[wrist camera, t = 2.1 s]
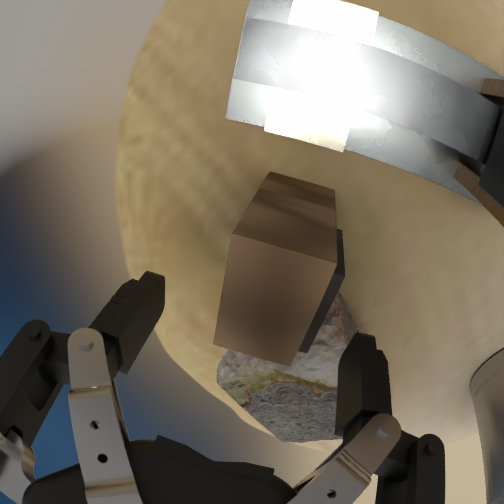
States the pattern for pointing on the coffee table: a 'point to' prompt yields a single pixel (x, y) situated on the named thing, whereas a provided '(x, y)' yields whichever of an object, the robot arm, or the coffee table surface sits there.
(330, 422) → the geological specimen
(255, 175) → the coffee table surface
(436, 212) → the coffee table surface
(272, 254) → the brown wooden block
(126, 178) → the coffee table surface
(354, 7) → the grey and brown stand
